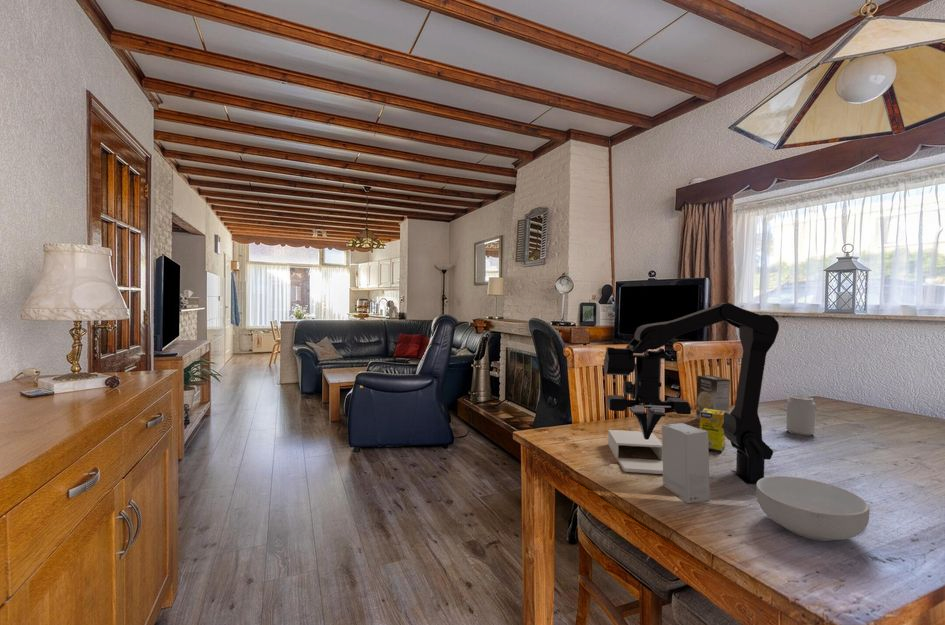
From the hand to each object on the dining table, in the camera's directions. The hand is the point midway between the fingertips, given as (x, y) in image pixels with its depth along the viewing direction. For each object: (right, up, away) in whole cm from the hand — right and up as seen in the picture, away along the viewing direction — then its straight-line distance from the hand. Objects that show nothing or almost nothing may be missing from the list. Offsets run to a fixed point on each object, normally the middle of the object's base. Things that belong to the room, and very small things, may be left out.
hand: (646, 439), depth 108 cm
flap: (+1, -7, +6) cm, 9 cm away
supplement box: (+27, -9, +19) cm, 34 cm away
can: (+65, -9, +36) cm, 75 cm away
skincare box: (+4, -9, -12) cm, 15 cm away
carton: (+2, -8, +12) cm, 15 cm away
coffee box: (+43, -8, +48) cm, 65 cm away
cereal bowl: (+20, -10, -26) cm, 34 cm away
